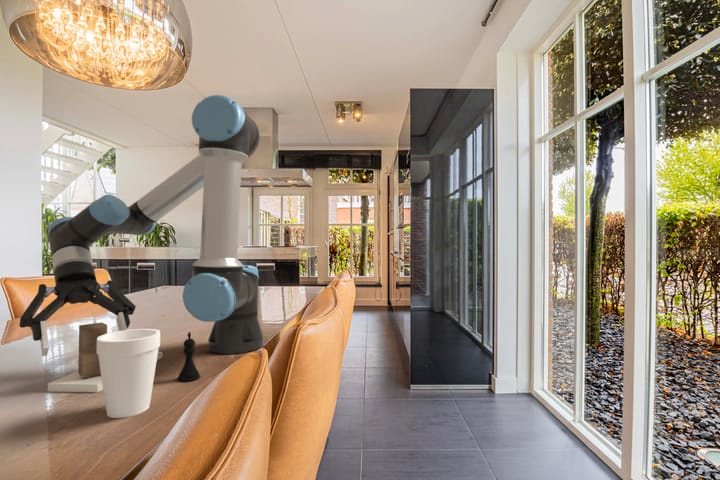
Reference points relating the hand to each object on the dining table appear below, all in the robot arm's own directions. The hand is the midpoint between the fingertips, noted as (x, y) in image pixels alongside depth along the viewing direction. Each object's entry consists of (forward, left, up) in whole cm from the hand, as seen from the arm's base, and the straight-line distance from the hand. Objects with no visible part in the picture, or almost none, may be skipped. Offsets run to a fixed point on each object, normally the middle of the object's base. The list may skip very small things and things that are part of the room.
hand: (88, 345), depth 76 cm
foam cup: (-17, +12, -8) cm, 22 cm away
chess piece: (-20, -3, -8) cm, 22 cm away
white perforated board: (-1, -6, -8) cm, 10 cm away
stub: (-1, 0, -6) cm, 6 cm away
